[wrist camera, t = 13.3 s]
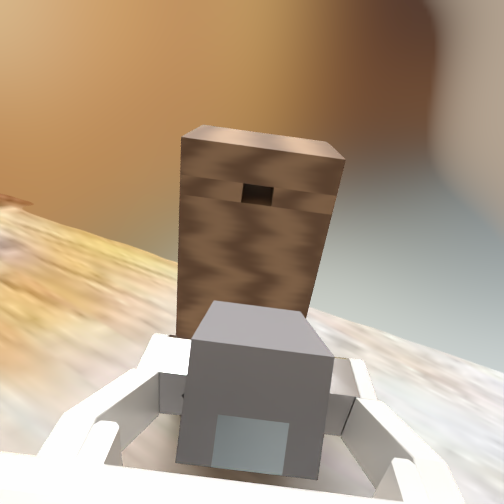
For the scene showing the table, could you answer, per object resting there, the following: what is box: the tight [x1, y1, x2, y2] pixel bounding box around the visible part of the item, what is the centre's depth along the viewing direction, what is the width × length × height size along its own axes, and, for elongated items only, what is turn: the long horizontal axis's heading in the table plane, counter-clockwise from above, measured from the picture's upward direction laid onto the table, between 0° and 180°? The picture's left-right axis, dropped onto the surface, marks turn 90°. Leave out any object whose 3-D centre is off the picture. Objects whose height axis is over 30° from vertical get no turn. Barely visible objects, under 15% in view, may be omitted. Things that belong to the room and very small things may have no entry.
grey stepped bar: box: [175, 300, 335, 480], centre depth 17 cm, size 16×4×4 cm, turn 177°
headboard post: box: [176, 125, 345, 338], centre depth 39 cm, size 14×10×31 cm
